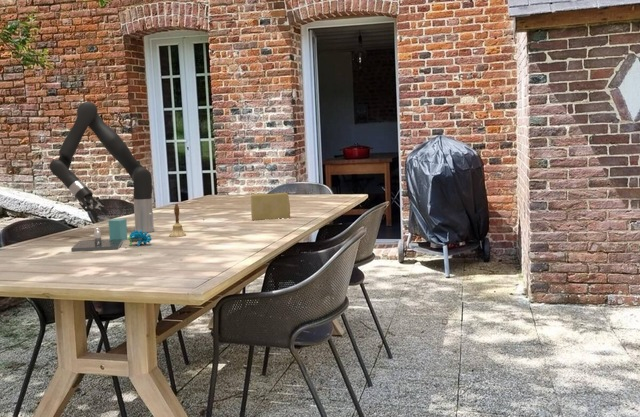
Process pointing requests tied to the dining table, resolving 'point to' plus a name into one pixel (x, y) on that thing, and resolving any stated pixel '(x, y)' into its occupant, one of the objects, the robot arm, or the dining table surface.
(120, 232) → the cap
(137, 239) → the blue spiky toy
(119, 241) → the mount plate
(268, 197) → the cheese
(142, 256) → the dining table surface
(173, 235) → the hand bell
